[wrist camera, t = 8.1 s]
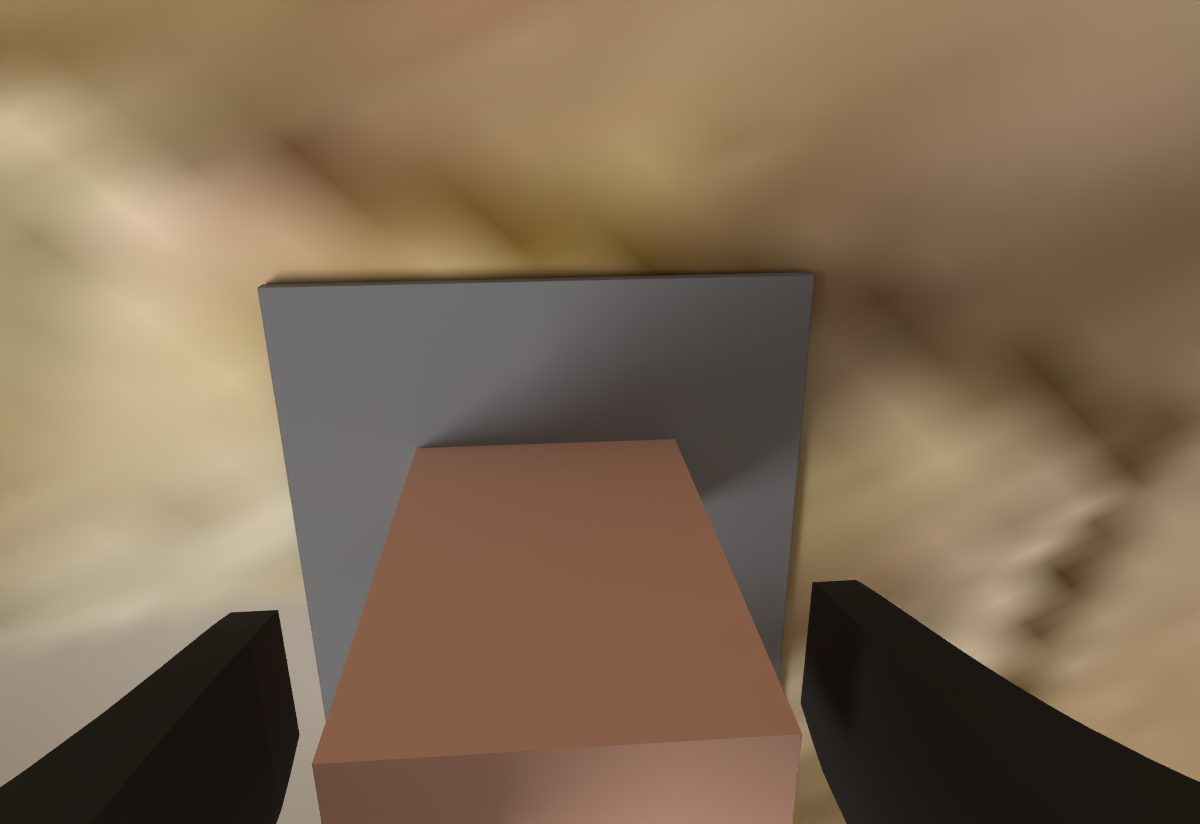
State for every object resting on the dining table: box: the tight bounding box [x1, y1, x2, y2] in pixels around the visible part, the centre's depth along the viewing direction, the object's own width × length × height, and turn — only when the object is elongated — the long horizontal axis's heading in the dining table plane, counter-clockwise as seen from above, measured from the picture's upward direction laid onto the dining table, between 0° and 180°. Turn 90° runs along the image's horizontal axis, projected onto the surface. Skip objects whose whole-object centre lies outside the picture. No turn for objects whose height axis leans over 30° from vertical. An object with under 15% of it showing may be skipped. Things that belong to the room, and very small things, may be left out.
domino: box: [312, 439, 802, 824], centre depth 12 cm, size 2×5×8 cm, turn 90°
